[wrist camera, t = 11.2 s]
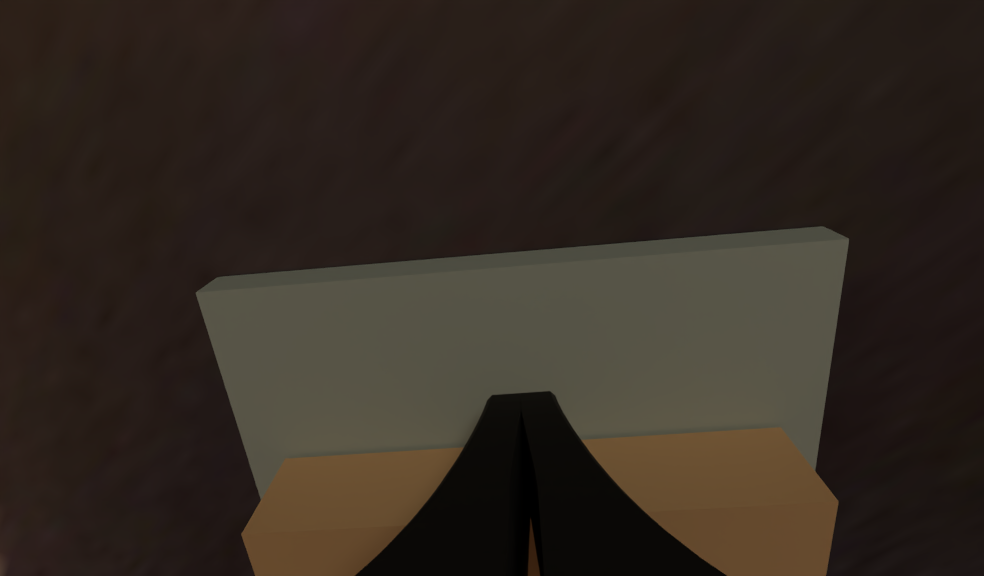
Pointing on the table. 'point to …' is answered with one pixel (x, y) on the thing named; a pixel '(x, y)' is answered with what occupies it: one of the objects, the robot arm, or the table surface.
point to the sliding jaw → (629, 462)
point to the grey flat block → (532, 343)
